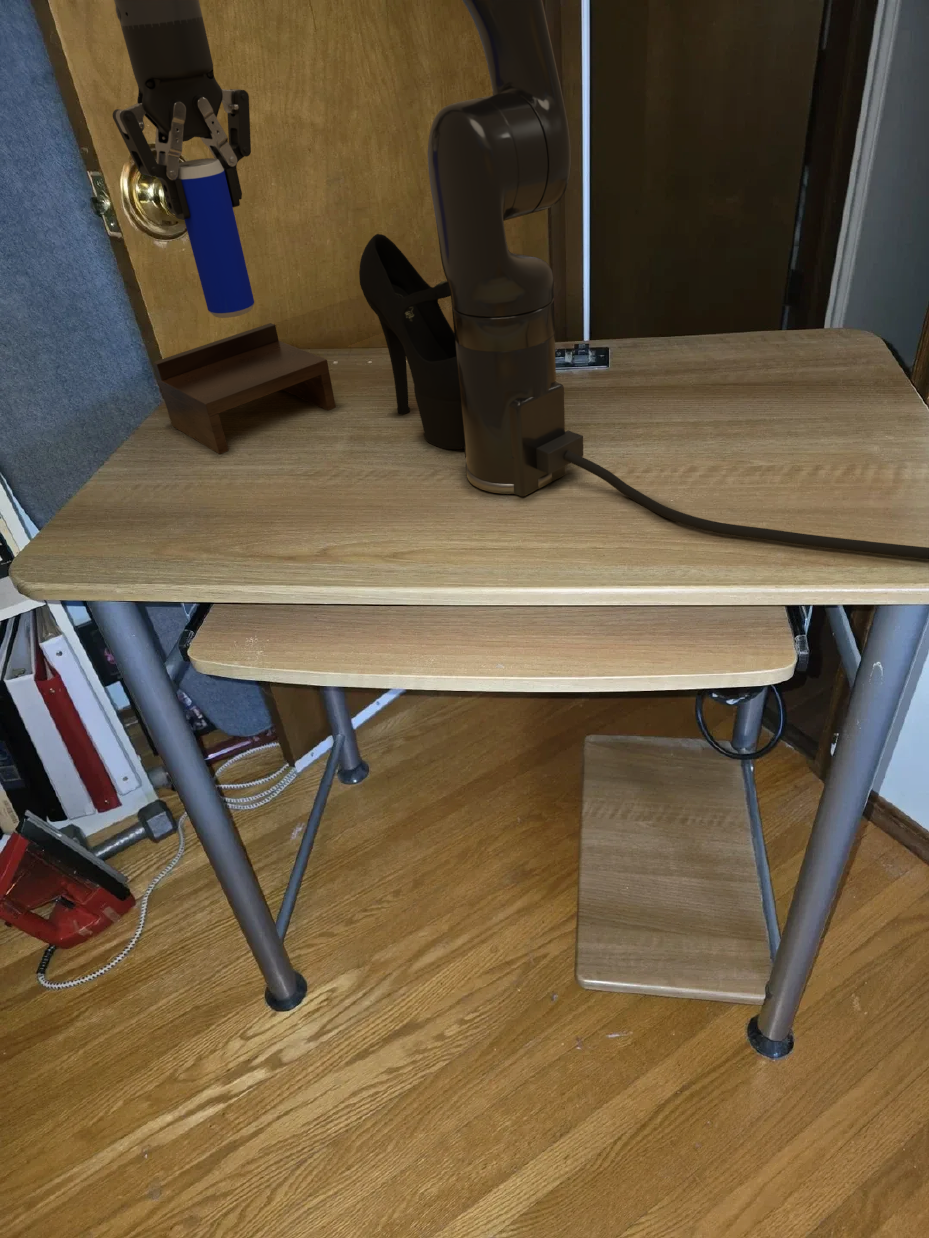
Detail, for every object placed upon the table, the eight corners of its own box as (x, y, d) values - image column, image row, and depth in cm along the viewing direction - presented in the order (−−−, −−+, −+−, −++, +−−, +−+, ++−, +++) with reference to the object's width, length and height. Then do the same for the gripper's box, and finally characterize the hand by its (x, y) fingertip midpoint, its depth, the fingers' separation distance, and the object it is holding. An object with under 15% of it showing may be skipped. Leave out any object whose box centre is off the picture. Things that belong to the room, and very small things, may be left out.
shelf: (336, 407, 107) (324, 342, 102) (219, 454, 99) (200, 386, 94) (284, 384, 115) (270, 322, 110) (172, 426, 107) (152, 362, 102)
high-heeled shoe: (466, 466, 91) (446, 266, 80) (364, 417, 104) (334, 238, 92) (523, 440, 95) (512, 246, 83) (418, 396, 108) (395, 222, 96)
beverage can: (262, 303, 100) (229, 156, 91) (245, 318, 96) (209, 166, 87) (220, 304, 101) (183, 159, 92) (201, 319, 97) (161, 170, 88)
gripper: (103, 25, 76) (161, 233, 86) (247, 7, 83) (285, 201, 93) (71, 27, 81) (129, 224, 91) (210, 10, 88) (250, 194, 98)
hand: (208, 211), depth 92 cm, fingers closed on beverage can, 5 cm apart
